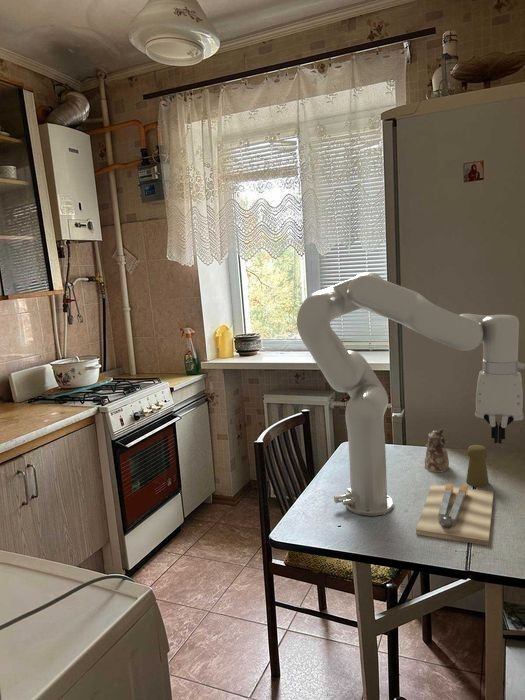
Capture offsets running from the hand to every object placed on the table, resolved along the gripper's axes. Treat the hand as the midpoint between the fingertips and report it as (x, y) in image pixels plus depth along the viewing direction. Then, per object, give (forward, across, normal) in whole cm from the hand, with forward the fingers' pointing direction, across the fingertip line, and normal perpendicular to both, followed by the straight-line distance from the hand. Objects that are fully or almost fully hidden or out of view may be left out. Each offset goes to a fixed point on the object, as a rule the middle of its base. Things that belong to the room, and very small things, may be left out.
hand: (498, 441), depth 127 cm
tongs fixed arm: (+19, +12, 0) cm, 22 cm away
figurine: (+20, +18, -28) cm, 39 cm away
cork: (+20, +6, -20) cm, 29 cm away
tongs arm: (+19, +10, +1) cm, 21 cm away
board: (+20, +9, +1) cm, 22 cm away
